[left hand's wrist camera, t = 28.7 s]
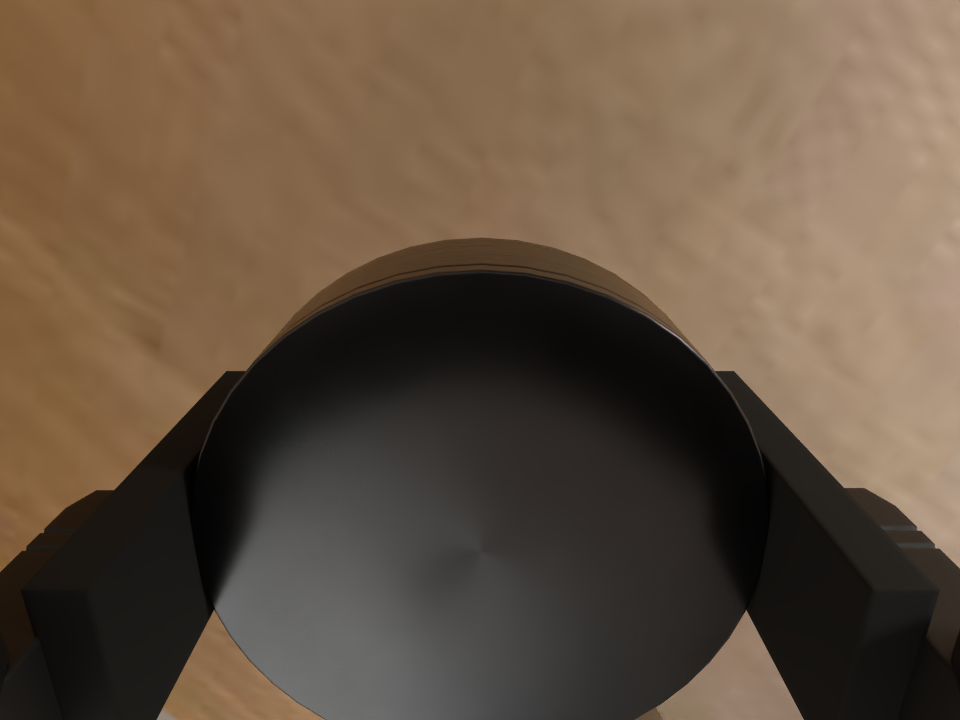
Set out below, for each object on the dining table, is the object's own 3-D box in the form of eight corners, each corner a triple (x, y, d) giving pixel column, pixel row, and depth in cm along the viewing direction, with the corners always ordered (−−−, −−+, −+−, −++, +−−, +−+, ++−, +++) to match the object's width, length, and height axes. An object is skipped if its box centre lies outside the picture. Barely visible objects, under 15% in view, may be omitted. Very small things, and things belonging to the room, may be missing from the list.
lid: (405, 715, 15) (392, 820, 12) (139, 394, 12) (64, 458, 10) (789, 548, 13) (851, 635, 11) (586, 132, 10) (615, 140, 8)
